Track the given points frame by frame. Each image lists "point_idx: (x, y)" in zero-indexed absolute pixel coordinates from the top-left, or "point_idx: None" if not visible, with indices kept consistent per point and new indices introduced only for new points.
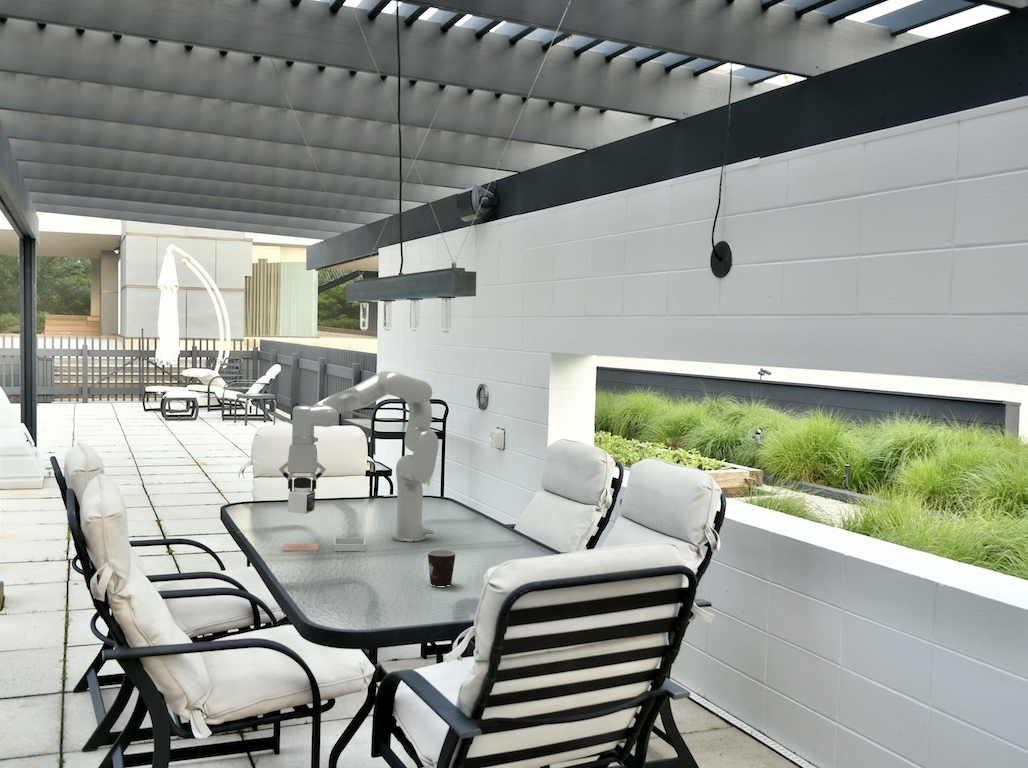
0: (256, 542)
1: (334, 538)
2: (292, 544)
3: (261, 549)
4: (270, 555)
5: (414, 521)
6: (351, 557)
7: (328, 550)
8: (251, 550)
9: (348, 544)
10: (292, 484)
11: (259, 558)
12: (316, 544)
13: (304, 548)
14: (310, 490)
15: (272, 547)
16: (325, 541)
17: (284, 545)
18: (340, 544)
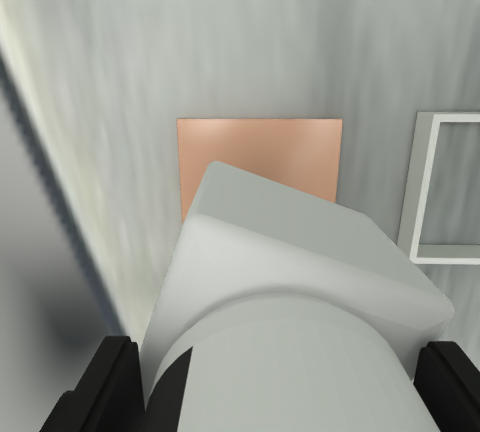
0: (29, 44)
1: (432, 129)
2: (216, 139)
3: (90, 196)
4: (147, 295)
5: None
6: (452, 335)
7: (377, 224)
8: (53, 212)
9: (477, 262)
10: (107, 406)
11: (116, 333)
12: (331, 141)
13: None
14: (394, 327)
15: (130, 159)
16: (382, 26)
17: (181, 158)
18: (440, 261)
